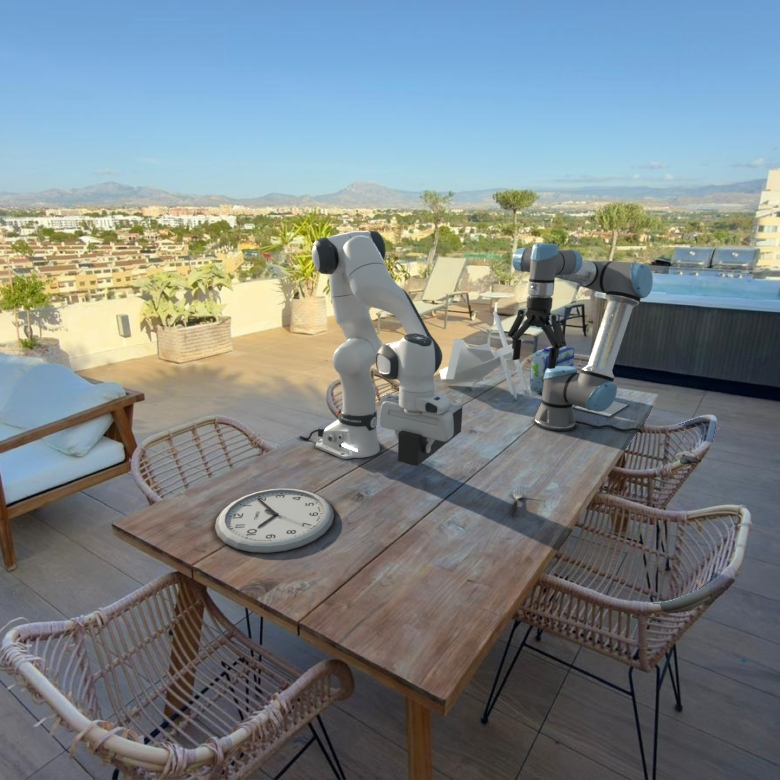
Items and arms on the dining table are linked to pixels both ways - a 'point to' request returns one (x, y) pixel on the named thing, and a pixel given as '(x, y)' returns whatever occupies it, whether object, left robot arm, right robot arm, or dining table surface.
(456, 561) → the dining table surface
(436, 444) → the bar
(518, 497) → the fork
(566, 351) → the lunch box
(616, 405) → the invitation card
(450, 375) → the white plastic object
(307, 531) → the wall clock
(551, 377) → the right robot arm
